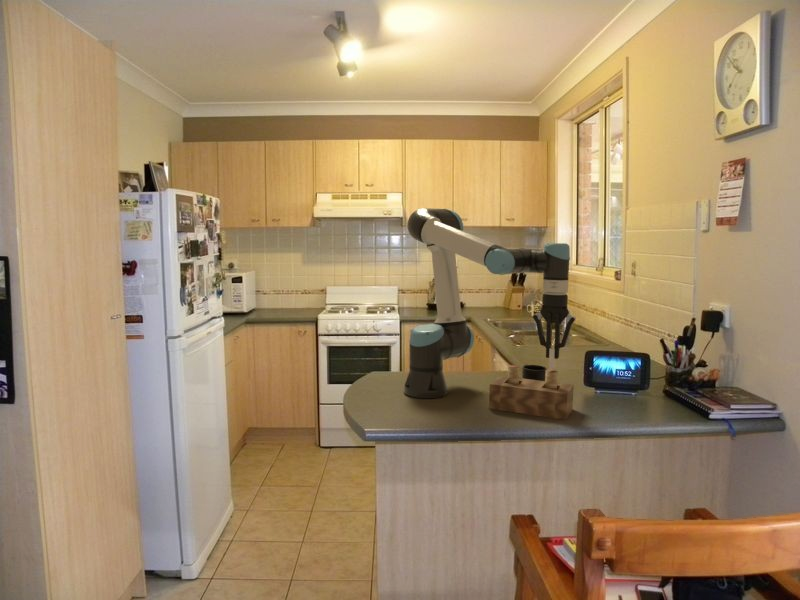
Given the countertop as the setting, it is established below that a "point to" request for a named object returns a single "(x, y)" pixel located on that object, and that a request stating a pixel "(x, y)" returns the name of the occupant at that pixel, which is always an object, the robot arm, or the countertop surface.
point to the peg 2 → (551, 379)
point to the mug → (534, 372)
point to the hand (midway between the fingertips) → (551, 368)
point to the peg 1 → (513, 375)
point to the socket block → (531, 398)
